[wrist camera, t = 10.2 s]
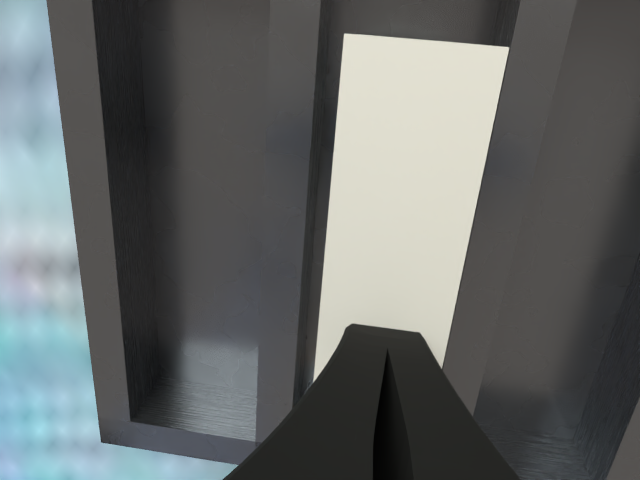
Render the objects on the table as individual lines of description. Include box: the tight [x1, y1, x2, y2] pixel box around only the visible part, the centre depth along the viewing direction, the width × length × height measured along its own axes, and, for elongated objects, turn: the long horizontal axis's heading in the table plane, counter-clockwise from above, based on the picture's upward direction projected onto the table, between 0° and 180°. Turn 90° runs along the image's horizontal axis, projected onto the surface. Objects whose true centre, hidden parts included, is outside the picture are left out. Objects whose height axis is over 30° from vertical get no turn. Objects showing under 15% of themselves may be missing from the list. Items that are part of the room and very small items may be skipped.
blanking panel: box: [313, 34, 509, 383], centre depth 13 cm, size 12×2×7 cm, turn 175°
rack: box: [47, 0, 640, 480], centre depth 15 cm, size 19×21×4 cm
